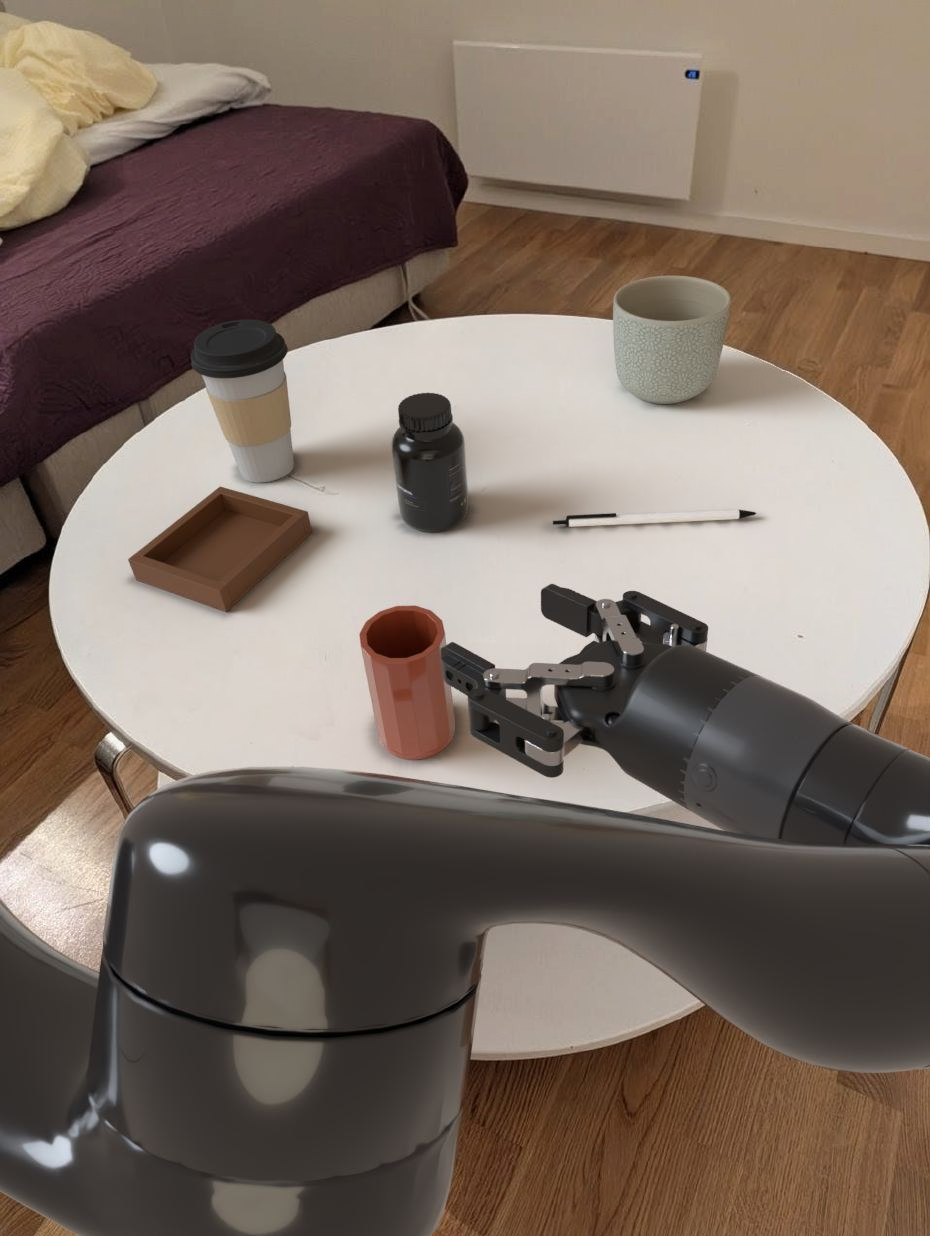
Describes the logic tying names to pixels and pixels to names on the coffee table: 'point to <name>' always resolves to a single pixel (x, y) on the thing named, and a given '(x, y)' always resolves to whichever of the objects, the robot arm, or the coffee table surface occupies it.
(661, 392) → the planter
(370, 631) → the tumbler
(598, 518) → the pen
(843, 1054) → the robot arm
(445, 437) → the supplement bottle
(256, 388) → the coffee cup
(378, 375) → the coffee table surface
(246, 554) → the tray
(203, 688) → the coffee table surface
